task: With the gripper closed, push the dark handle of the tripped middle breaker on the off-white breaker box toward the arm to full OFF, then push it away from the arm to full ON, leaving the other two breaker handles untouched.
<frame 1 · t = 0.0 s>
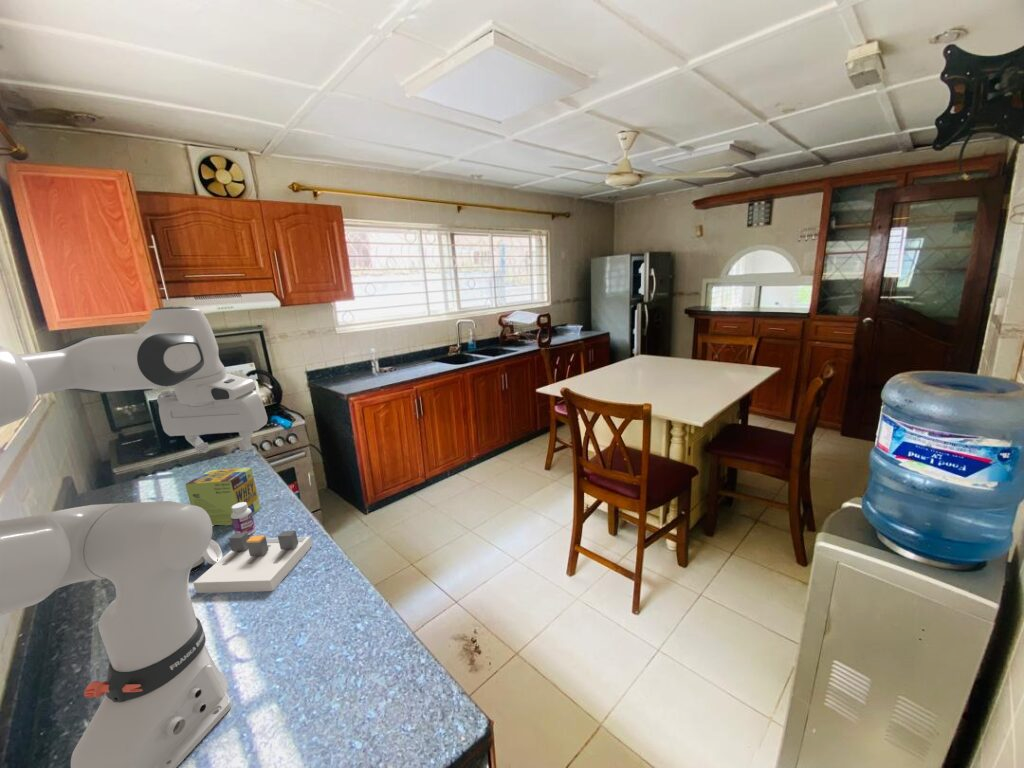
hand: (225, 450, 85), 39 cm above the counter, tool pointing down, fingers open, 8 cm apart
pill bottle: (246, 533, 127), on the counter
spread jar: (198, 566, 113), on the counter
tripped breaker: (257, 545, 109), point 6 cm above the counter, slide at 2.5 cm
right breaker: (288, 539, 111), point 5 cm above the counter, slide at 5.0 cm
breaker box: (258, 567, 109), on the counter
left breaker: (239, 541, 112), point 5 cm above the counter, slide at 5.0 cm
protein box: (230, 518, 138), on the counter
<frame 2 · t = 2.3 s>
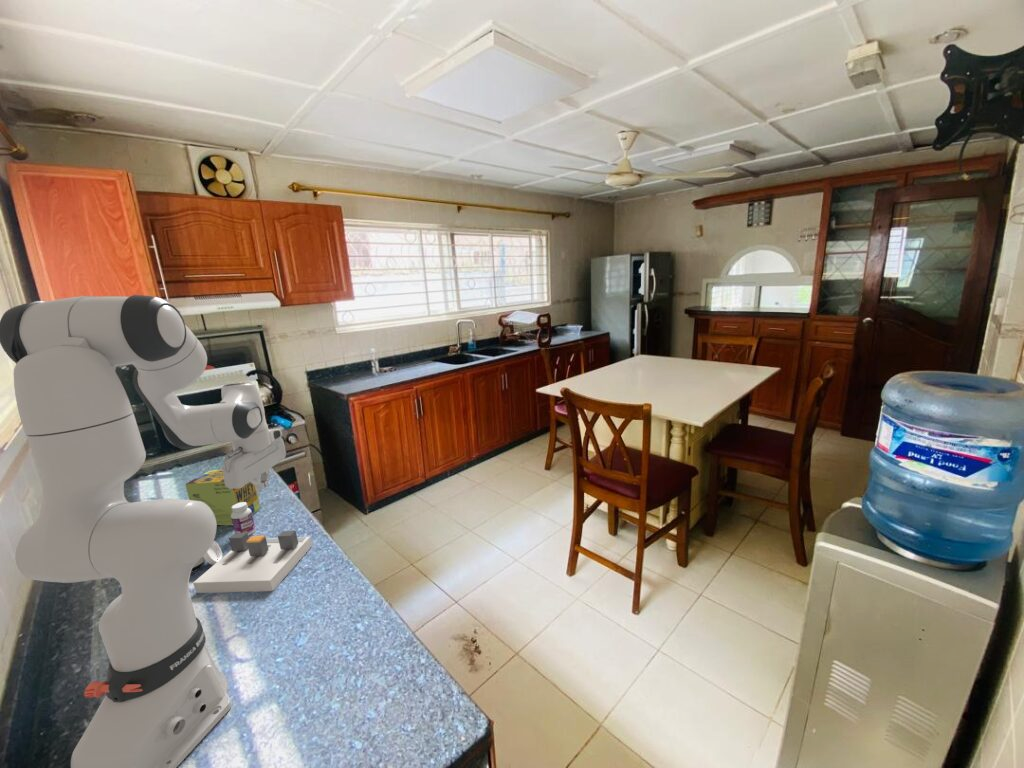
hand: (262, 488, 113), 19 cm above the counter, tool pointing down, fingers closed
nothing on the counter moved.
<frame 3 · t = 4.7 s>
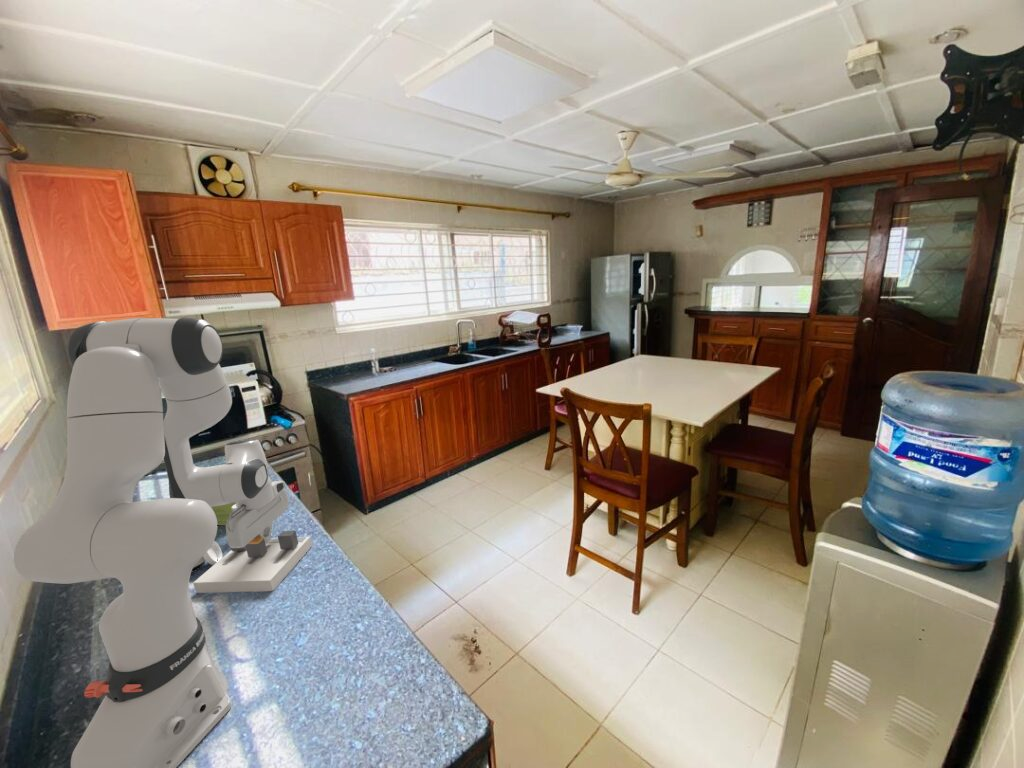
hand: (265, 542, 112), 5 cm above the counter, tool pointing down, fingers closed
tripped breaker: (256, 547, 109), point 6 cm above the counter, slide at 1.9 cm, touching gripper
everything else where it was.
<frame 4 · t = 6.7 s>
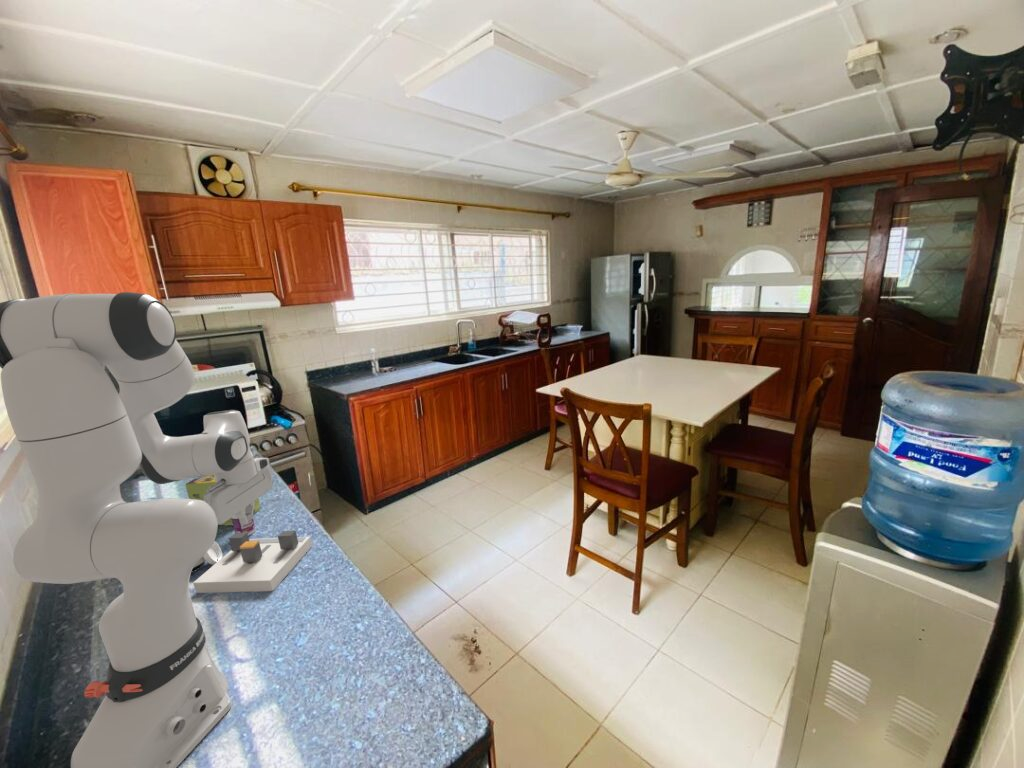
hand: (247, 521, 106), 14 cm above the counter, tool pointing down, fingers closed
tripped breaker: (251, 551, 107), point 6 cm above the counter, slide at 0.0 cm
everything else where it was.
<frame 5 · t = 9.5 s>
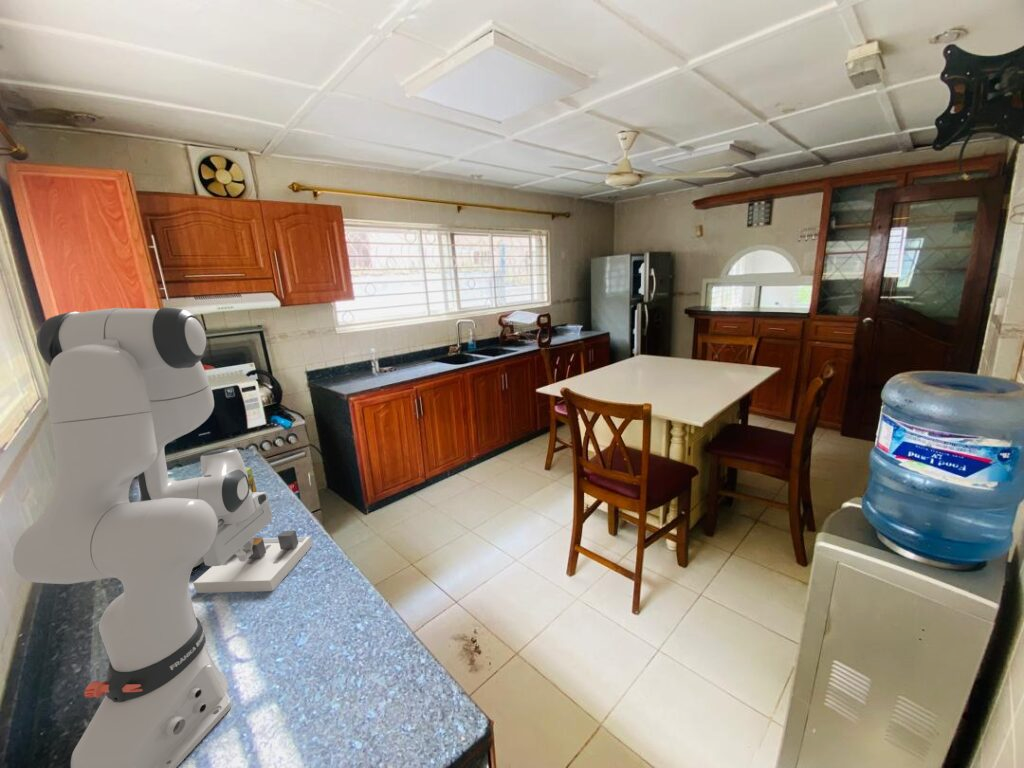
hand: (246, 557, 105), 5 cm above the counter, tool pointing down, fingers closed
tripped breaker: (255, 548, 108), point 6 cm above the counter, slide at 1.5 cm, touching gripper
everything else where it was.
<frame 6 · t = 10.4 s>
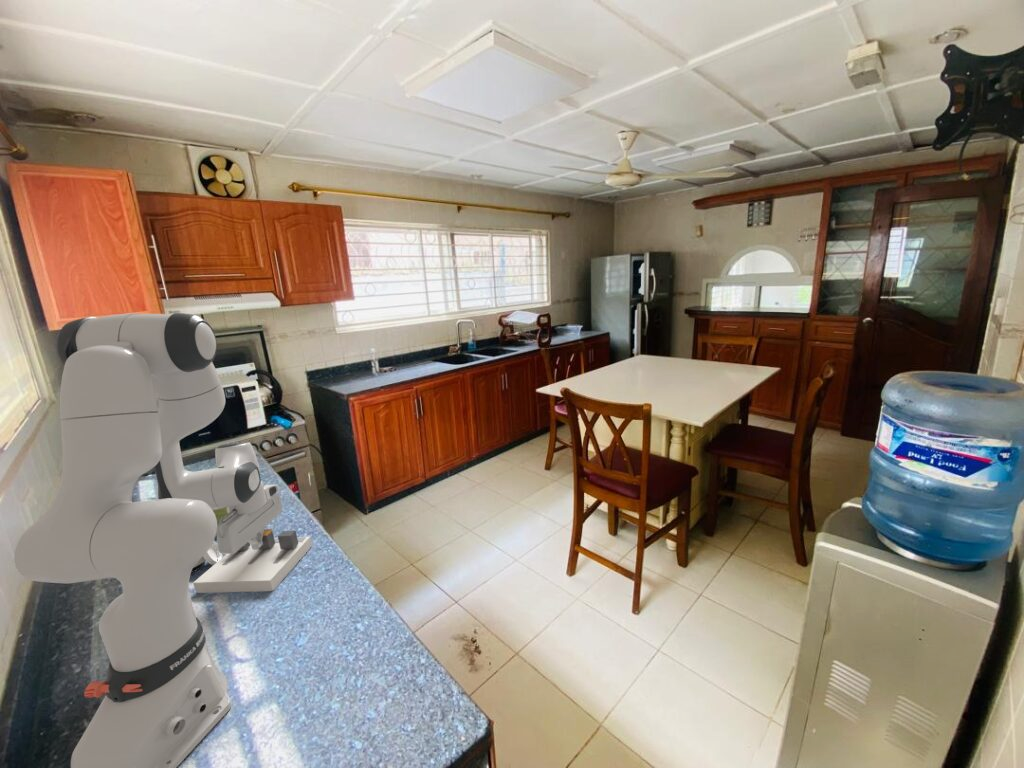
hand: (258, 547, 110), 5 cm above the counter, tool pointing down, fingers closed
tripped breaker: (264, 539, 112), point 6 cm above the counter, slide at 5.4 cm, touching gripper
everything else where it was.
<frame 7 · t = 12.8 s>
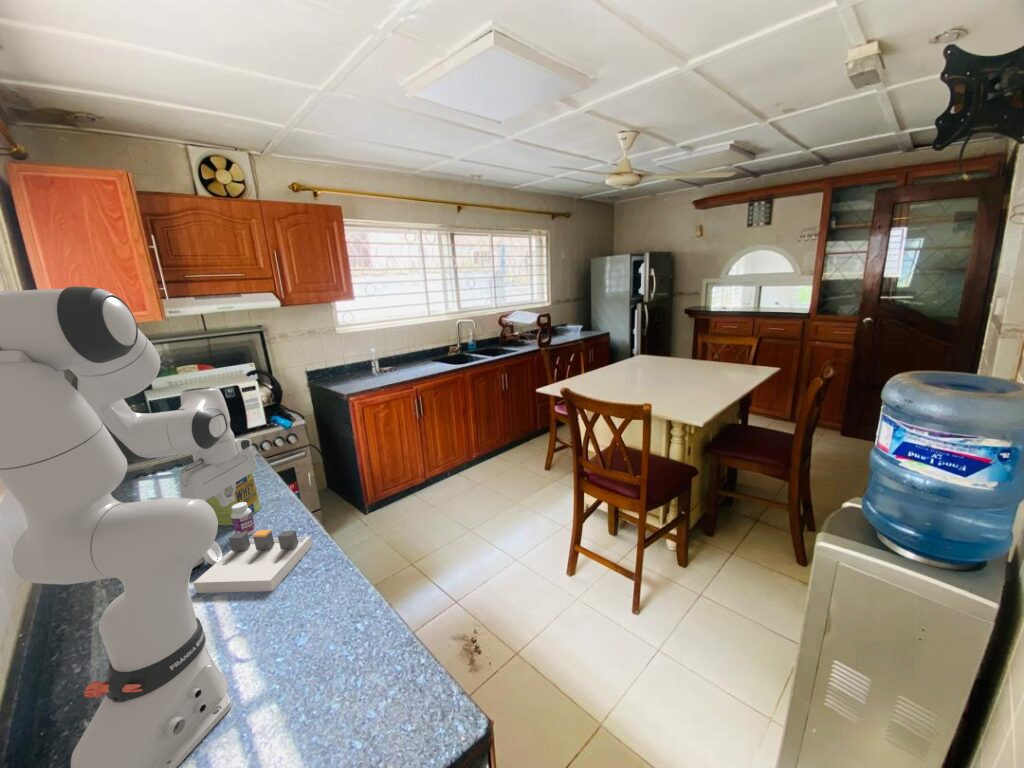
hand: (228, 503, 103), 20 cm above the counter, tool pointing down, fingers closed
tripped breaker: (263, 540, 112), point 6 cm above the counter, slide at 5.1 cm
everything else where it was.
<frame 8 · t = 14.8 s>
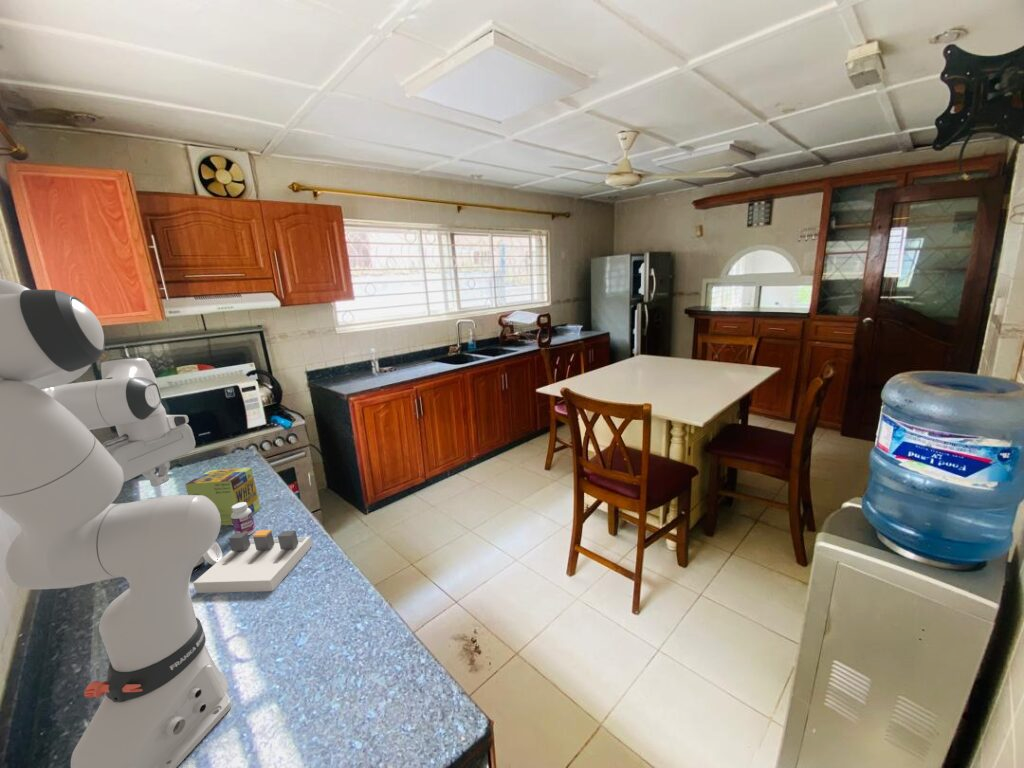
hand: (160, 483, 96), 29 cm above the counter, tool pointing down, fingers closed
nothing on the counter moved.
at the end: tripped breaker slide at 5.1 cm; left breaker slide at 5.0 cm; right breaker slide at 5.0 cm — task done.
